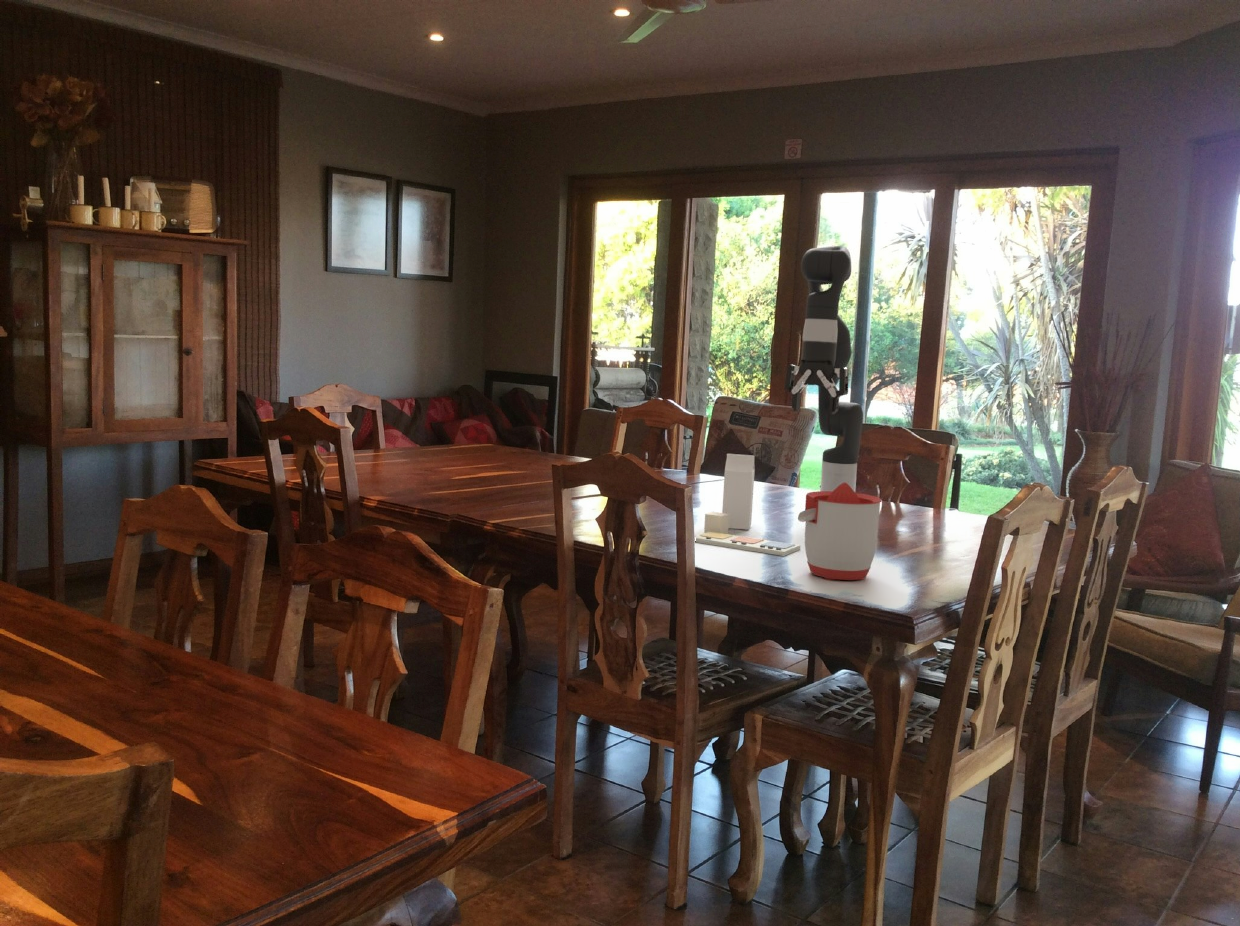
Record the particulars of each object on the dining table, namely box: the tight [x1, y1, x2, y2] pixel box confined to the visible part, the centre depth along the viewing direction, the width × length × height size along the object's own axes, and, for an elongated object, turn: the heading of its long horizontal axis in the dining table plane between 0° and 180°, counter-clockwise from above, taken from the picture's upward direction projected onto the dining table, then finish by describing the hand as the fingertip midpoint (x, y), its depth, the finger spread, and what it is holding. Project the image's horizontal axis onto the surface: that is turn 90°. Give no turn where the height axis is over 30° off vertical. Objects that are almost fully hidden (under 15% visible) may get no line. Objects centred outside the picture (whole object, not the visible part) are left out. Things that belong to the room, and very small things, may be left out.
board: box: [695, 532, 801, 557], centre depth 255 cm, size 10×24×1 cm, turn 59°
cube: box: [703, 511, 729, 534], centre depth 269 cm, size 4×4×5 cm
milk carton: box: [721, 453, 756, 531], centre depth 278 cm, size 7×7×19 cm
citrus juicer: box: [797, 482, 883, 581], centre depth 226 cm, size 16×17×20 cm
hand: (814, 412), depth 241 cm, fingers open, 8 cm apart
